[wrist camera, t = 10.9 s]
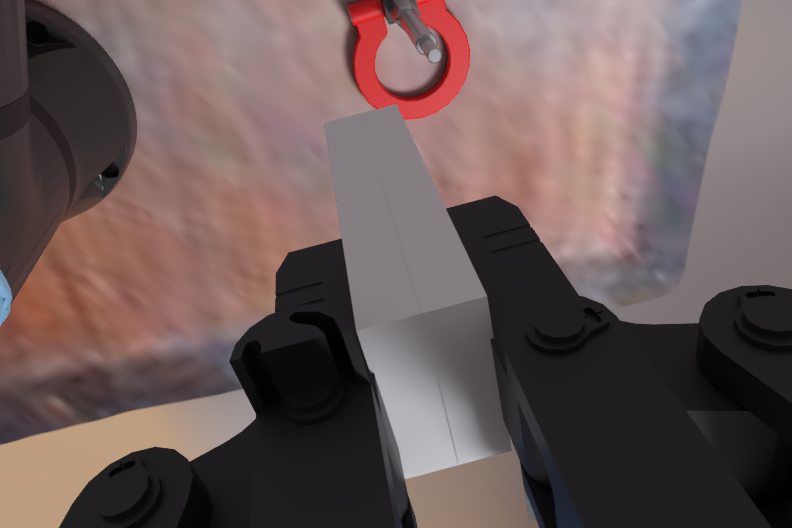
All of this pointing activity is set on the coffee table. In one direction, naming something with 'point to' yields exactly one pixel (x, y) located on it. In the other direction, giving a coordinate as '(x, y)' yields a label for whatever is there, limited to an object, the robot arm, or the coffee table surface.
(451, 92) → the tow hook
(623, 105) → the coffee table surface
